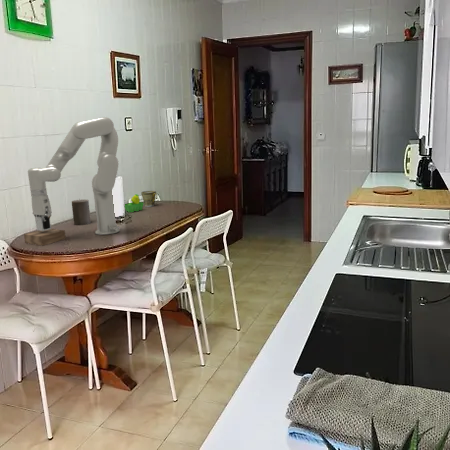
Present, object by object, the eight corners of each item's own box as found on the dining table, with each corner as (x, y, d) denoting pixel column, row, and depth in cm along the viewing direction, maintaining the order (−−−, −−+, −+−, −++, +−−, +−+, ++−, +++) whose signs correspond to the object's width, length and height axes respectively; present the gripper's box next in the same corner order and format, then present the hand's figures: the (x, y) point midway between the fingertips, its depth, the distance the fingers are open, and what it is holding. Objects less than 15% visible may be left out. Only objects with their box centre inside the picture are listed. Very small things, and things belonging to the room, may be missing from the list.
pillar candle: (74, 226, 286) (71, 200, 283) (73, 223, 295) (70, 198, 292) (92, 224, 290) (89, 198, 286) (89, 221, 299) (87, 196, 295)
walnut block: (65, 239, 255) (64, 230, 254) (42, 246, 244) (41, 236, 242) (48, 237, 263) (47, 228, 261) (25, 243, 251) (23, 234, 250)
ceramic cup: (139, 207, 337) (137, 192, 334) (149, 204, 344) (148, 190, 342) (152, 208, 329) (151, 193, 327) (163, 205, 337) (162, 191, 334)
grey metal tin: (51, 229, 252) (49, 215, 251) (42, 231, 248) (40, 217, 247) (45, 228, 255) (43, 214, 254) (36, 230, 251) (34, 216, 250)
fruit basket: (137, 209, 329) (135, 192, 327) (146, 210, 323) (144, 193, 321) (123, 212, 321) (121, 195, 319) (132, 213, 315) (130, 195, 313)
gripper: (55, 192, 245) (60, 228, 249) (35, 190, 256) (40, 225, 259) (42, 194, 240) (47, 231, 244) (22, 193, 250) (27, 228, 254)
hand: (43, 227), depth 251 cm, fingers closed on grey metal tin, 5 cm apart
